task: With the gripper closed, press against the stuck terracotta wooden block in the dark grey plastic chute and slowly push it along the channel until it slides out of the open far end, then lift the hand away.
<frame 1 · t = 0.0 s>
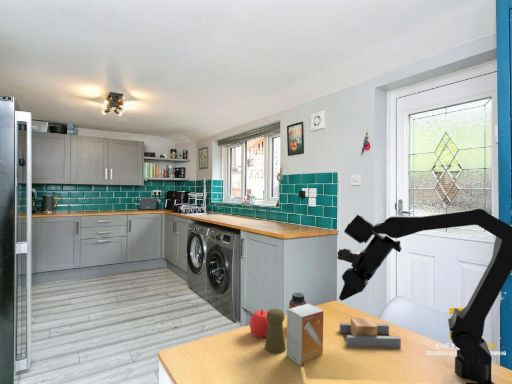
hand: (344, 294, 88), 15 cm above the table, tool tilted 35°, fingers open, 9 cm apart
small box: (304, 357, 81), on the table
chute: (368, 341, 89), on the table
supplement bottle: (297, 328, 98), on the table
olive pepper mill: (275, 348, 85), on the table
jammed block: (363, 330, 89), point 4 cm above the table, slide at 0.0 cm
apple: (261, 335, 93), on the table
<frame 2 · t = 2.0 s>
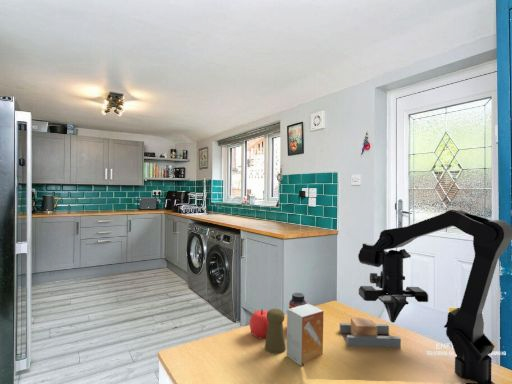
hand: (392, 321, 89), 6 cm above the table, tool pointing down, fingers closed
nothing on the table moved.
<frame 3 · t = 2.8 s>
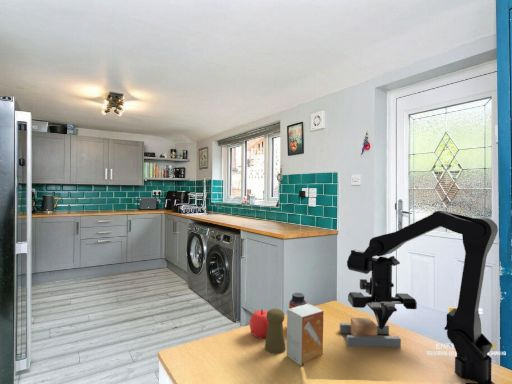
hand: (380, 328, 89), 4 cm above the table, tool pointing down, fingers closed
nothing on the table moved.
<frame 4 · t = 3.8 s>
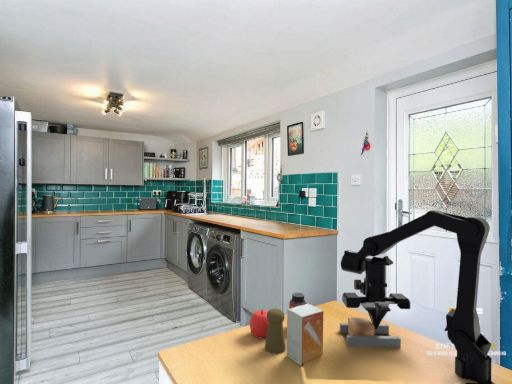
hand: (375, 328, 89), 4 cm above the table, tool pointing down, fingers closed
jammed block: (360, 330, 89), point 4 cm above the table, slide at 0.8 cm, touching gripper
everything else where it was.
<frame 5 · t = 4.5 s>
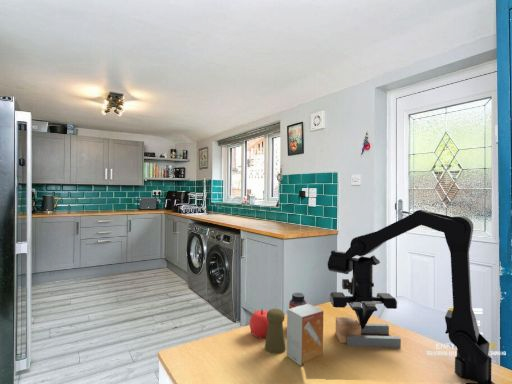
hand: (362, 328, 89), 4 cm above the table, tool pointing down, fingers closed
jammed block: (347, 329, 90), point 4 cm above the table, slide at 4.7 cm, touching gripper
everything else where it was.
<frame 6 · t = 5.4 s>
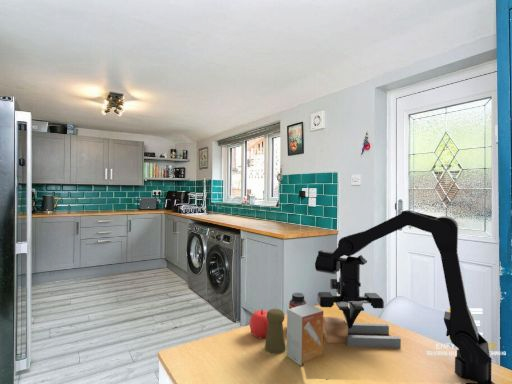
hand: (349, 327, 90), 4 cm above the table, tool pointing down, fingers closed
jammed block: (335, 329, 90), point 4 cm above the table, slide at 8.6 cm, touching gripper
everything else where it was.
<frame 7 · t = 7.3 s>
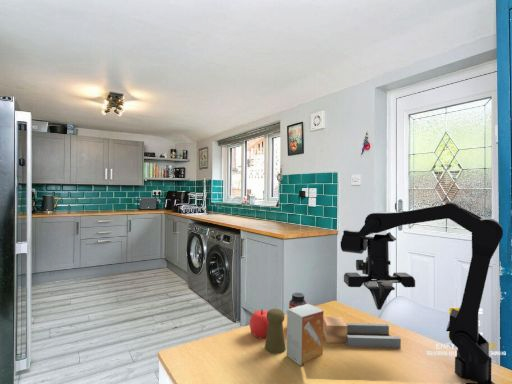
hand: (378, 309, 86), 11 cm above the table, tool pointing down, fingers closed
jammed block: (334, 329, 90), point 4 cm above the table, slide at 8.7 cm
everything else where it was.
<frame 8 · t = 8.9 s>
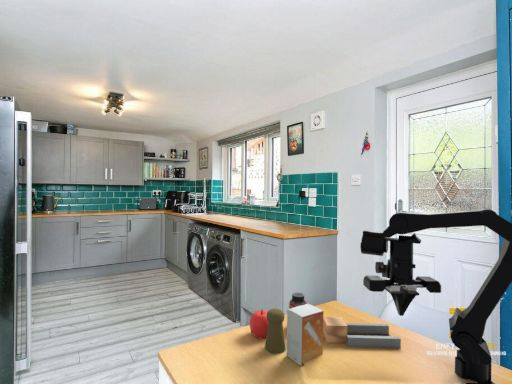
hand: (400, 315, 80), 12 cm above the table, tool pointing down, fingers closed
nothing on the table moved.
at the end: jammed block slide at 8.7 cm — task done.
